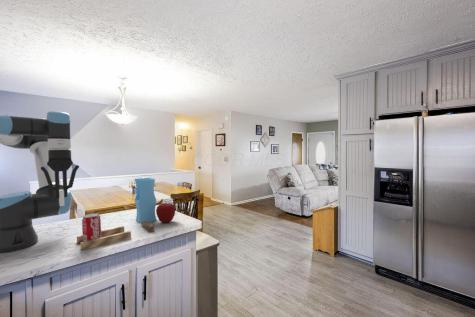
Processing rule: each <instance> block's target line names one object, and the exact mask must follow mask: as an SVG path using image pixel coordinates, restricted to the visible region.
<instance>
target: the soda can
mask: <svg viewBox="0 0 475 317" xmlns="http://www.w3.org/2000/svg"><path fill="white" fill-rule="evenodd" d="M81 222H82V223H81V228H82V229H81V230H82V233H81V234H82V235H83V242H85V241H89V240H93V239H97V238H101V231H102V222H101V216H100V213H98V212H96V213H95V212H92V213H87V214H84V215H83V216H82V220H81Z"/></svg>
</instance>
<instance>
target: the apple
mask: <svg viewBox="0 0 475 317" xmlns="http://www.w3.org/2000/svg"><path fill="white" fill-rule="evenodd" d="M175 206H176V205H174V204H173V203H171V202H169V203H166V202H164V203H161V204H158V205H157V207H156V208H155V214H156V218H157V219H158V221H160V222H161V223H165V224H166V223H170V222H171V221H172V220H173V219H174V217H175V216H176V207H175Z"/></svg>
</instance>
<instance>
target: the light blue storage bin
mask: <svg viewBox="0 0 475 317" xmlns="http://www.w3.org/2000/svg"><path fill="white" fill-rule="evenodd" d="M155 181H156V179H155V178H154V177H141V178H134V182H135V186H136V194H135V198H134V203H135V209H136V216H135V221H136V222H137V223H138V224H142V221H147V222H148V223H150V222H155V221H157V215H156V205H157V198H156V195H155V190H154V187H155Z"/></svg>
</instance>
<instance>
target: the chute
mask: <svg viewBox="0 0 475 317" xmlns="http://www.w3.org/2000/svg"><path fill="white" fill-rule="evenodd" d="M131 238H132V231H131V230H126V231H125V226H124V225H122V226H121V225H120V226H117V227H113V228H111V227H110V228H107V229H104V230H102V229H101V238H97V239H93V240H89V241H85V242H83V234H79V235H76V243H77V244H80V251H85V250H88V249H92V248H96V247H101V246H104V245H109V244H111V243H116V242H120V241H123V240H127V239H131Z"/></svg>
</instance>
